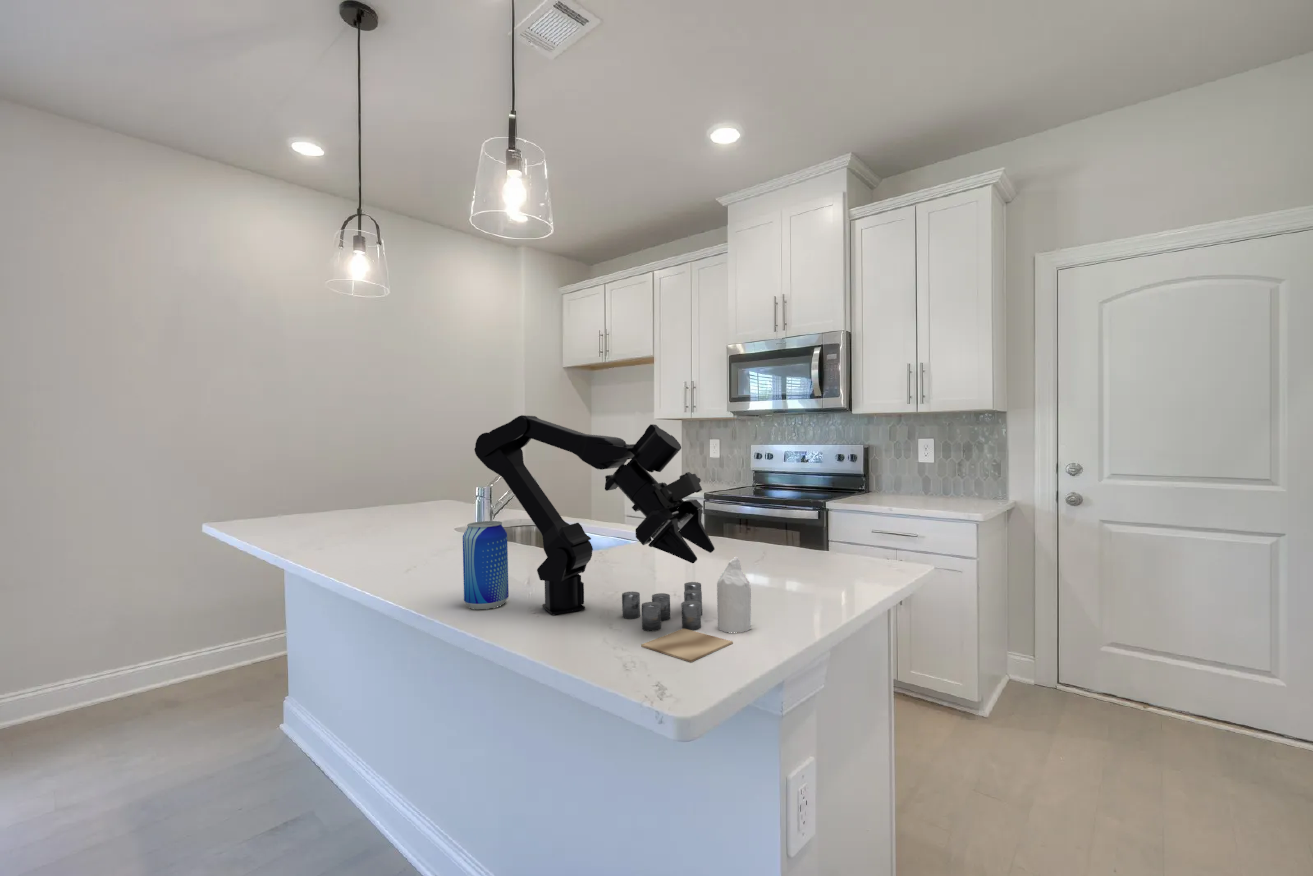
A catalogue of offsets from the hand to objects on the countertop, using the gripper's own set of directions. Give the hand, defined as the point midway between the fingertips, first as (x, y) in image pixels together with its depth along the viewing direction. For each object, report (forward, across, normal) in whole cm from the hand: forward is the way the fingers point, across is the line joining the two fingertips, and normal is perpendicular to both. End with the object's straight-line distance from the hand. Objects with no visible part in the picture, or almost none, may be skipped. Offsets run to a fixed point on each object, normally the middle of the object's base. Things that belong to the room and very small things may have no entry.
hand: (704, 556), depth 101 cm
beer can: (-23, -2, +40) cm, 46 cm away
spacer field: (+4, +2, +12) cm, 13 cm away
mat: (+8, -10, +8) cm, 16 cm away
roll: (+12, 0, +5) cm, 13 cm away
